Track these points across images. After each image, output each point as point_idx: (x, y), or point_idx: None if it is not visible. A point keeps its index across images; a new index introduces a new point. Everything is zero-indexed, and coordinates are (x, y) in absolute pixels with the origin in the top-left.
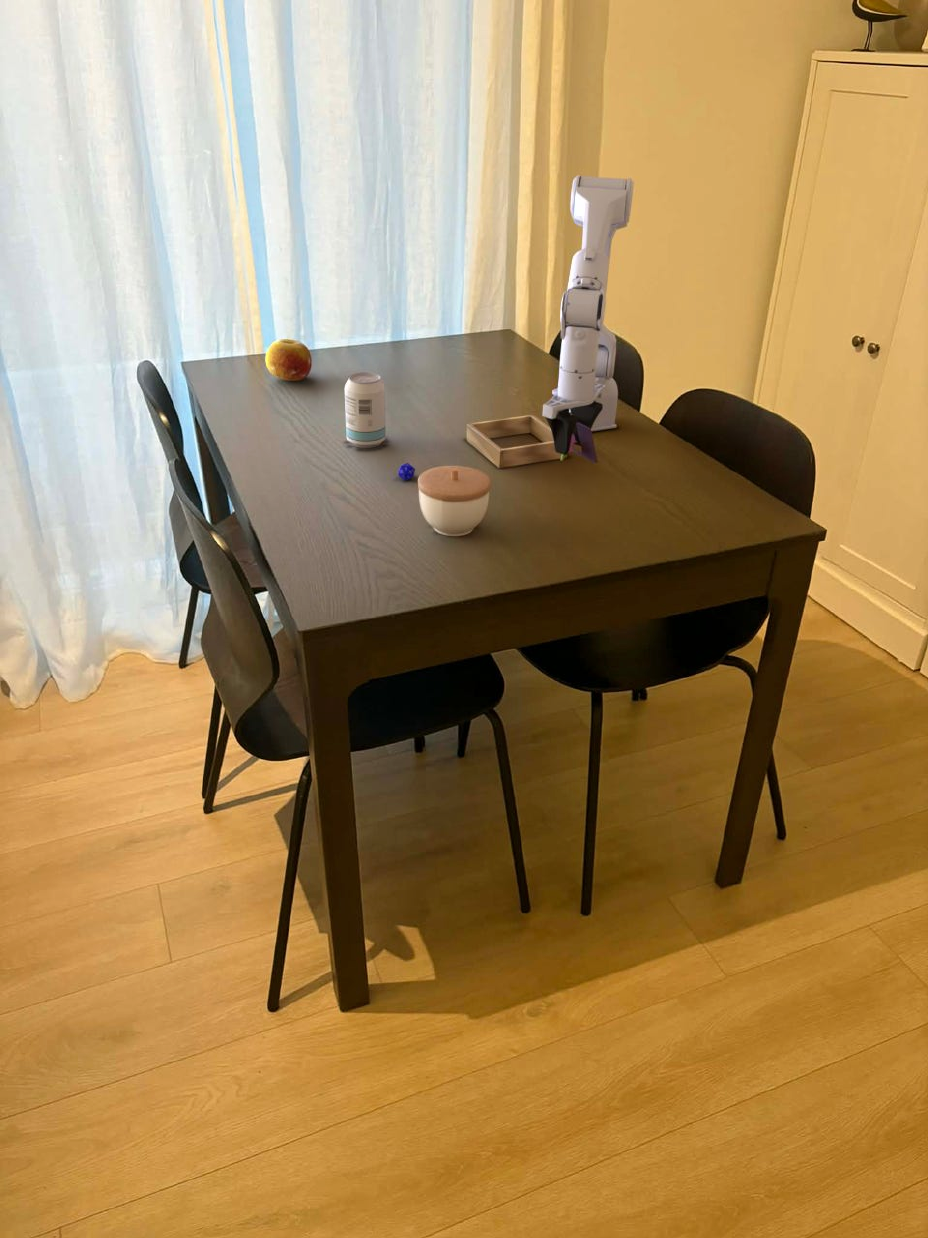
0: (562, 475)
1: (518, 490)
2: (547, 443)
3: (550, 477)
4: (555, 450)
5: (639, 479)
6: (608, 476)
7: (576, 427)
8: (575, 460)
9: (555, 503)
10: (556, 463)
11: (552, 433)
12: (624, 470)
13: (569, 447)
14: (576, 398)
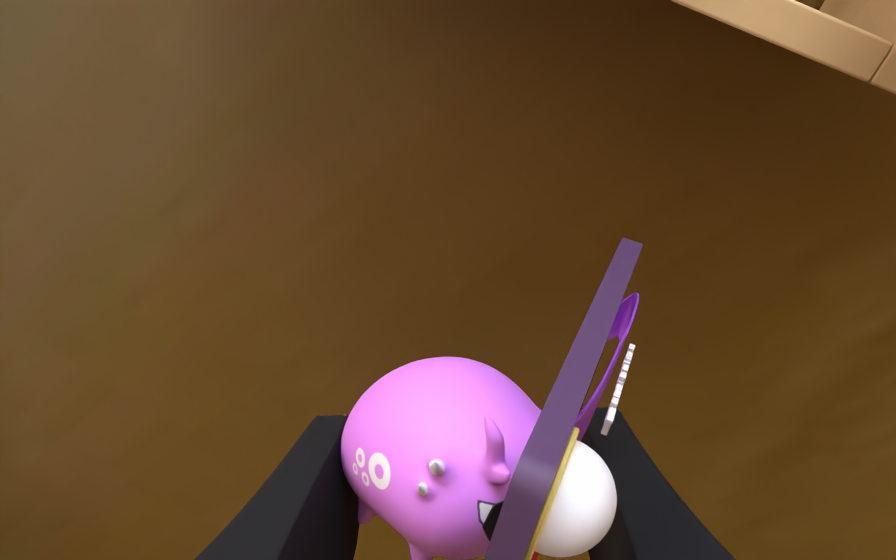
0: (503, 242)
1: (93, 202)
2: (682, 3)
3: (414, 210)
4: (309, 425)
5: (770, 531)
6: (695, 421)
7: (614, 554)
8: (806, 140)
9: (181, 431)
10: (655, 78)
11: (218, 540)
12: (842, 433)
13: (349, 557)
14: None
